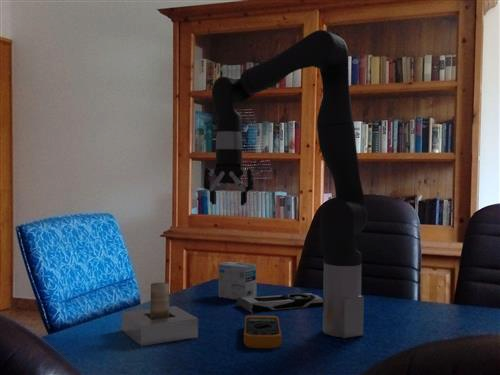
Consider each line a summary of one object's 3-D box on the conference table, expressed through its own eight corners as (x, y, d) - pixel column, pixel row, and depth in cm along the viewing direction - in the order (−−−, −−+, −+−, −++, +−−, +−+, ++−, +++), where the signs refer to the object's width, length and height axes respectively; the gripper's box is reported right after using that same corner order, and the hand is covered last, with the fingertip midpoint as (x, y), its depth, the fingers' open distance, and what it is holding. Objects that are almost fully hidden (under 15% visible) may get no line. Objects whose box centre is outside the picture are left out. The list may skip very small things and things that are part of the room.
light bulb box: (257, 297, 174) (257, 263, 173) (245, 301, 168) (246, 266, 168) (229, 293, 179) (229, 260, 179) (217, 297, 174) (217, 263, 173)
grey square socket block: (197, 337, 130) (198, 318, 130) (141, 345, 123) (141, 325, 123) (175, 323, 143) (175, 305, 142) (122, 330, 135) (122, 312, 135)
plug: (171, 334, 132) (172, 285, 132) (154, 337, 130) (154, 286, 130) (164, 330, 136) (165, 282, 136) (147, 332, 134) (148, 283, 134)
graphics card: (236, 296, 162) (310, 290, 172) (236, 308, 162) (310, 301, 172) (249, 304, 153) (327, 297, 163) (249, 316, 153) (327, 308, 163)
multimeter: (243, 350, 123) (243, 334, 122) (244, 327, 141) (244, 314, 140) (281, 350, 122) (282, 335, 122) (278, 328, 140) (278, 314, 140)
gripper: (201, 147, 155) (200, 204, 155) (250, 147, 152) (249, 206, 152) (208, 148, 162) (208, 203, 163) (256, 149, 159) (255, 204, 160)
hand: (228, 204), depth 158 cm, fingers open, 8 cm apart
